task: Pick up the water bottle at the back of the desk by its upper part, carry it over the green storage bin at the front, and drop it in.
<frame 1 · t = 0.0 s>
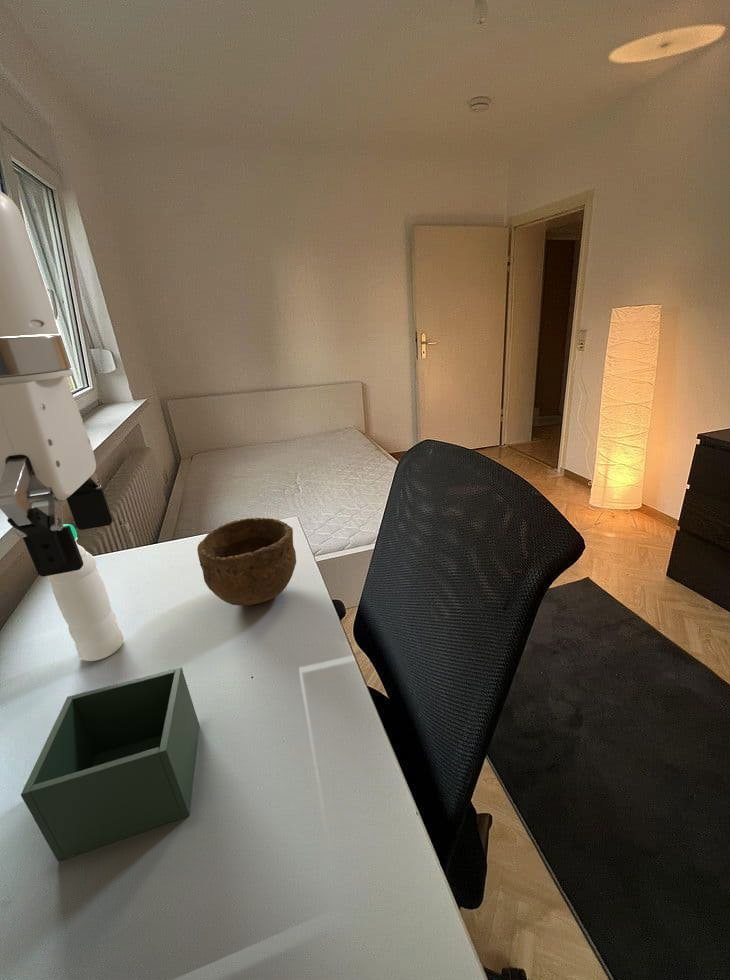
hand: (81, 546, 42), 35 cm above the table, tool pointing down, fingers open, 9 cm apart
water bottle: (103, 650, 82), on the table
green storage bin: (138, 784, 57), on the table
bowl: (258, 597, 95), on the table
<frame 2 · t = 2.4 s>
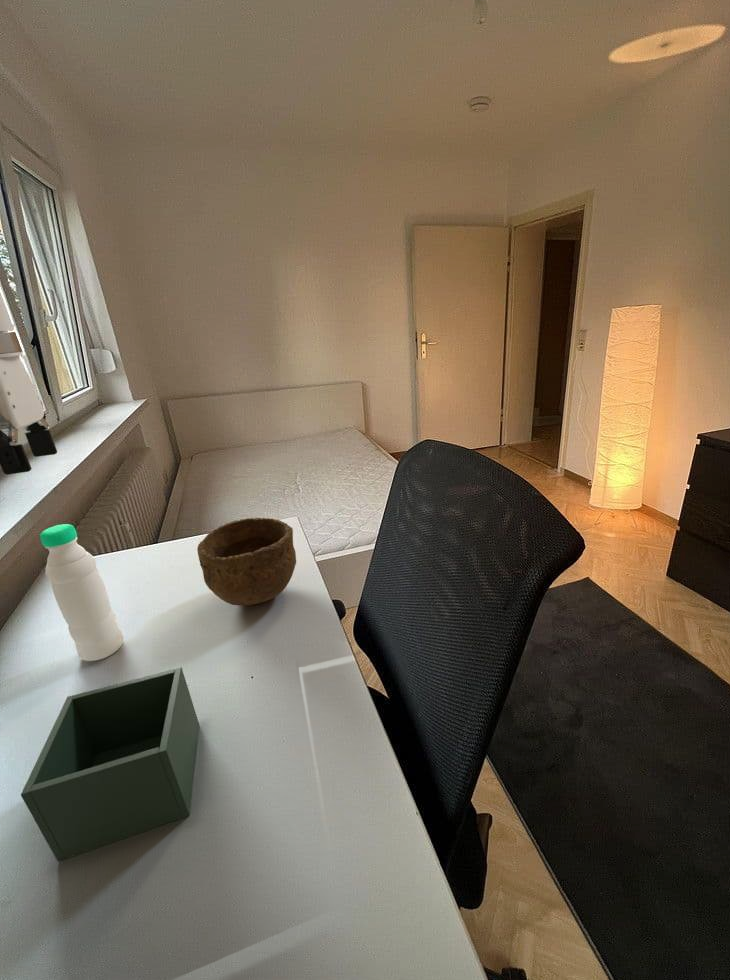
hand: (33, 463, 68), 36 cm above the table, tool pointing down, fingers open, 9 cm apart
nothing on the table moved.
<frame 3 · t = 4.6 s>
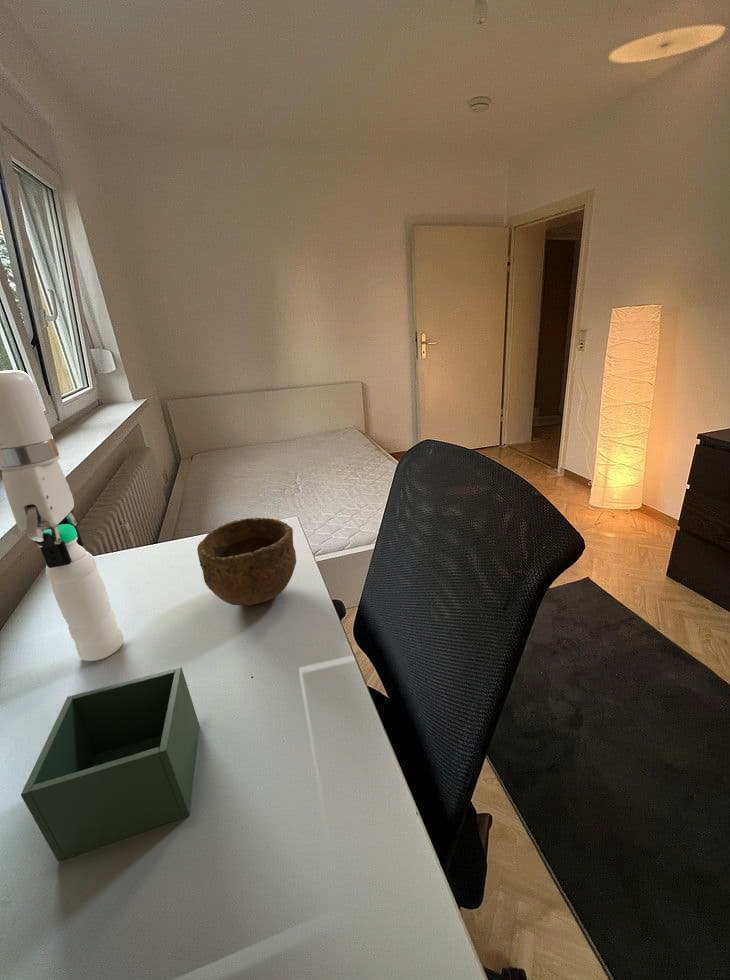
hand: (66, 555, 75), 20 cm above the table, tool pointing down, fingers closed on water bottle, 5 cm apart
water bottle: (103, 650, 82), on the table, touching gripper
everything else where it was.
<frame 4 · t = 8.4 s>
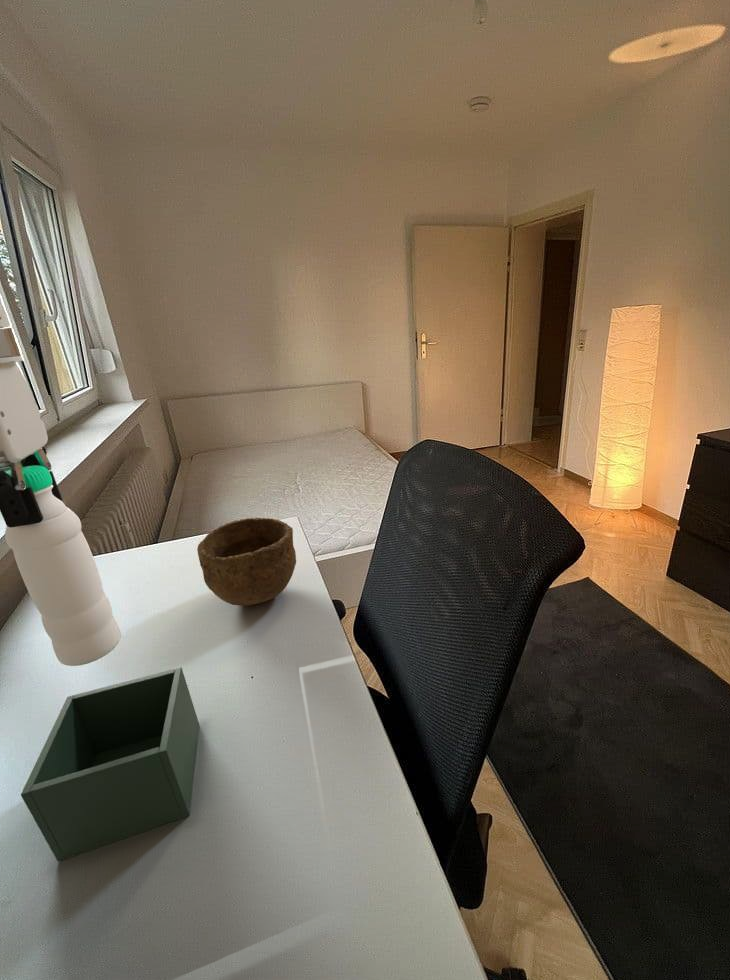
hand: (36, 512, 51), 36 cm above the table, tool pointing down, fingers closed on water bottle, 5 cm apart
water bottle: (92, 650, 58), point 16 cm above the table, touching gripper
everything else where it was.
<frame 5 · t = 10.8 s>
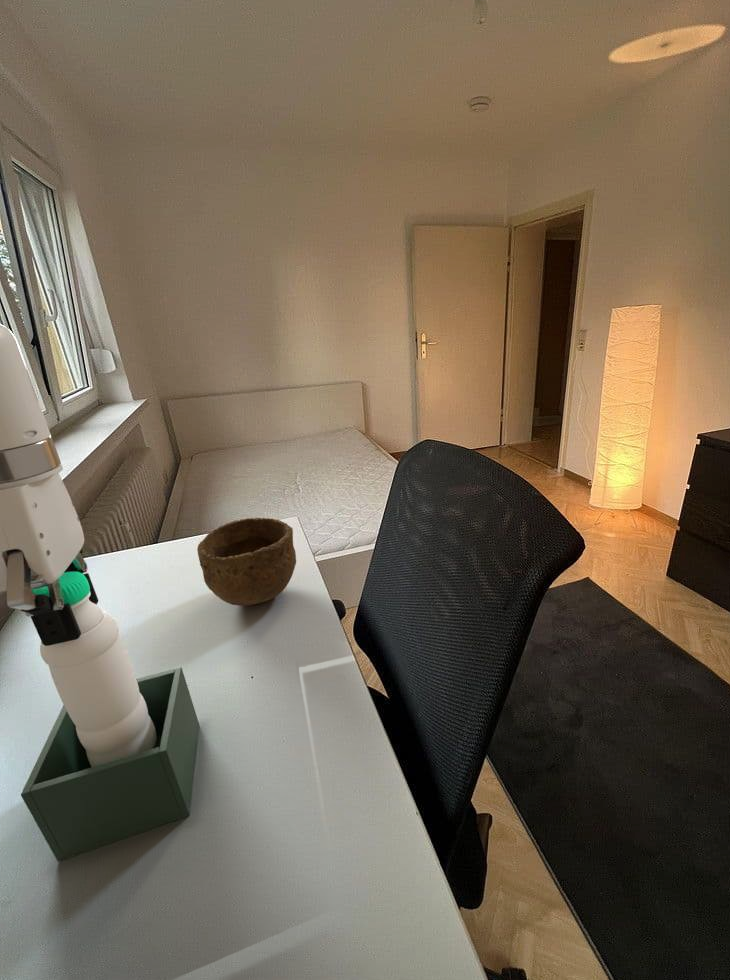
hand: (72, 621, 48), 26 cm above the table, tool pointing down, fingers closed on water bottle, 5 cm apart
water bottle: (127, 753, 55), point 6 cm above the table, touching gripper
everything else where it was.
when the fingers open (21 cm above the table, at t = 12.3 s): water bottle stays where it is, resting on green storage bin.
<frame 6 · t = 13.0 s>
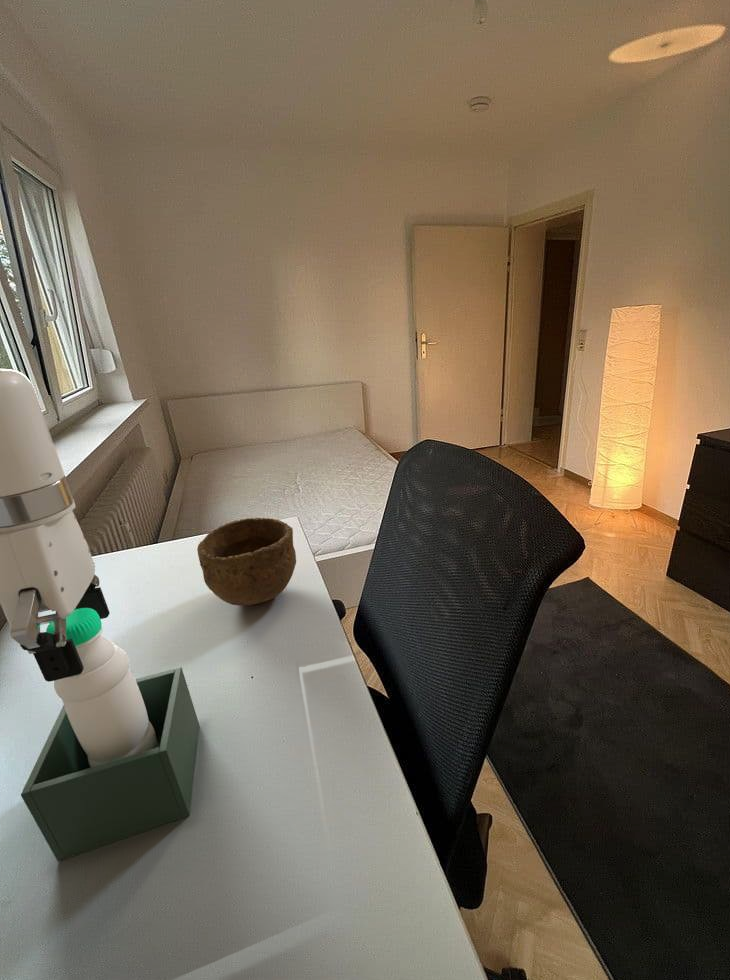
hand: (81, 645, 49), 22 cm above the table, tool pointing down, fingers open, 9 cm apart
water bottle: (136, 779, 57), point 1 cm above the table, touching green storage bin
everything else where it was.
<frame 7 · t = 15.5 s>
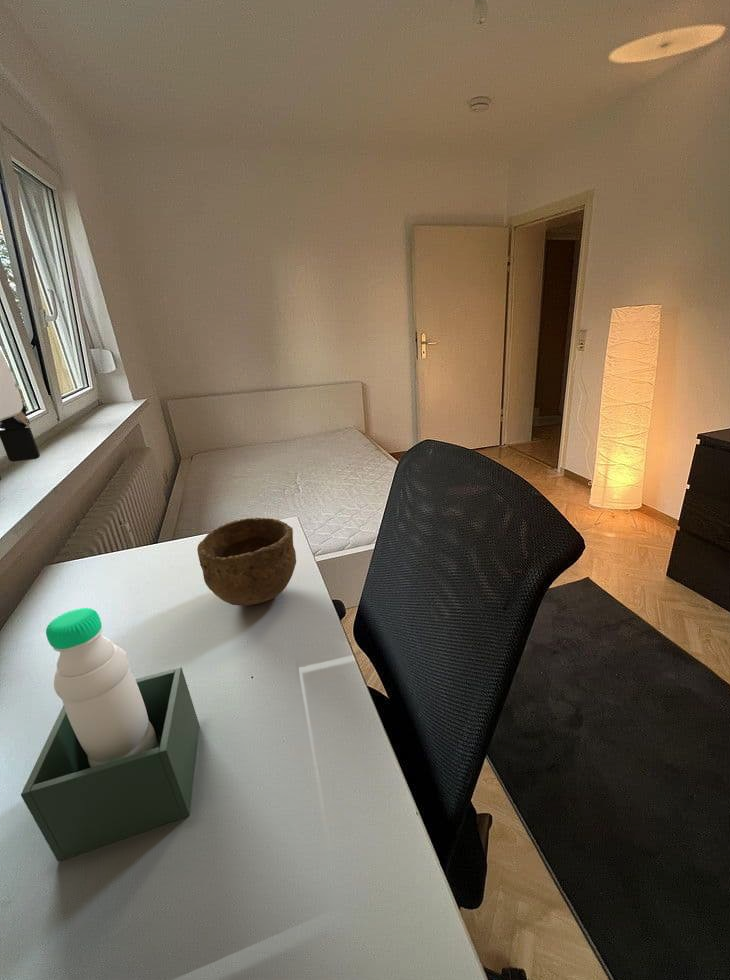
hand: (6, 470, 52), 40 cm above the table, tool pointing down, fingers open, 9 cm apart
nothing on the table moved.
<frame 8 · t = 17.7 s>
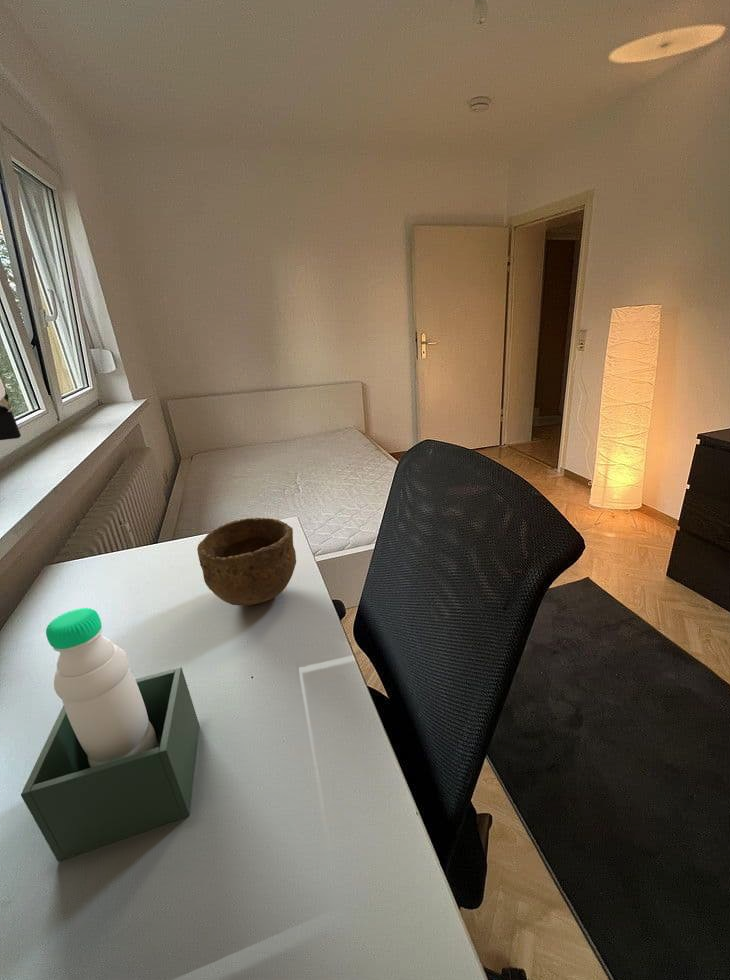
nothing on the table moved.
at the end: water bottle inside the target area in the green storage bin (0.0 cm from its centre), point 0.8 cm above the green storage bin's base; the gripper is holding nothing; water bottle moved 34.1 cm from its start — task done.
